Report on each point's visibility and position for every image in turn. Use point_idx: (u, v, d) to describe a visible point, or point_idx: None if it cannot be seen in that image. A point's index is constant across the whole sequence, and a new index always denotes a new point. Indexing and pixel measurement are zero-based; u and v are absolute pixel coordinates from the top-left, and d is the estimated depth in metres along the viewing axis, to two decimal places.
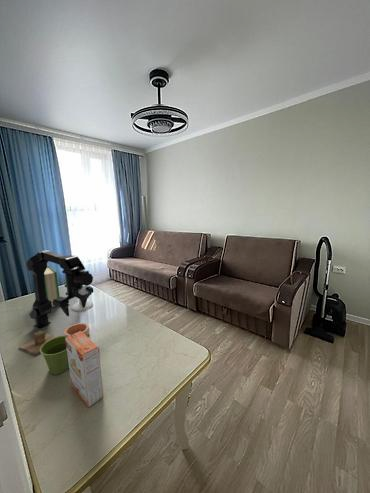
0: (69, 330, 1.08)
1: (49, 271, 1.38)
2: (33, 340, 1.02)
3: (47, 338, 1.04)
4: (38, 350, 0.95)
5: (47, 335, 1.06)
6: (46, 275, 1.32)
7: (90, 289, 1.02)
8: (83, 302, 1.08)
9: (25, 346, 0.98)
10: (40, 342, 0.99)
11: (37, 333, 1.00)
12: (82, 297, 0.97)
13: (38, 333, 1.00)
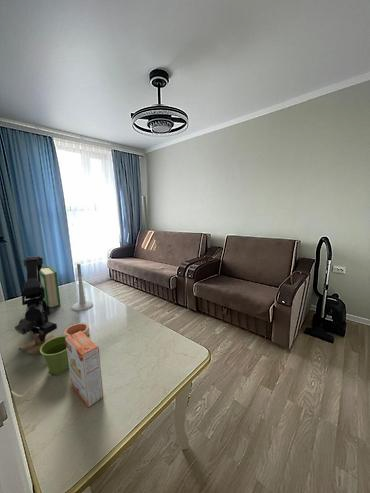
0: (69, 330, 1.08)
1: (49, 271, 1.38)
2: (33, 340, 1.02)
3: (47, 338, 1.04)
4: (38, 350, 0.95)
5: (47, 335, 1.06)
6: (46, 275, 1.32)
7: (24, 328, 0.91)
8: None
9: (25, 346, 0.98)
10: (40, 342, 0.99)
11: (37, 333, 1.00)
12: None
13: None
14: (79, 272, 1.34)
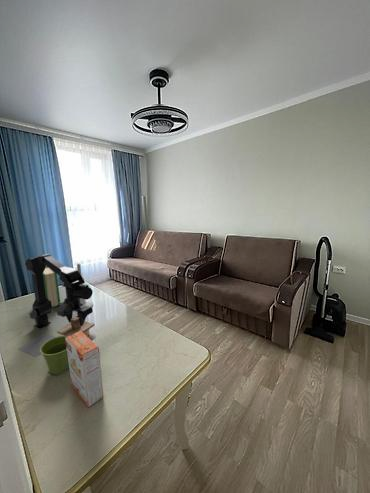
0: None
1: (49, 271, 1.38)
2: (69, 325, 1.08)
3: None
4: None
5: None
6: (46, 275, 1.32)
7: (65, 310, 0.96)
8: None
9: (63, 330, 1.04)
10: (76, 327, 1.05)
11: (73, 318, 1.05)
12: None
13: (74, 318, 1.05)
14: (79, 272, 1.34)
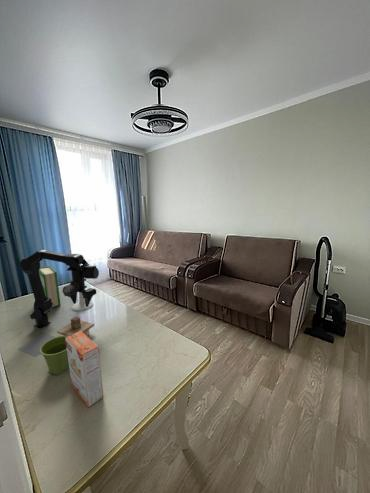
0: None
1: (49, 271, 1.38)
2: (69, 325, 1.08)
3: (82, 324, 1.09)
4: None
5: (81, 321, 1.12)
6: (46, 275, 1.32)
7: (71, 290, 1.04)
8: None
9: (63, 330, 1.04)
10: (76, 327, 1.05)
11: (73, 318, 1.05)
12: (63, 293, 1.06)
13: (74, 318, 1.05)
14: None
